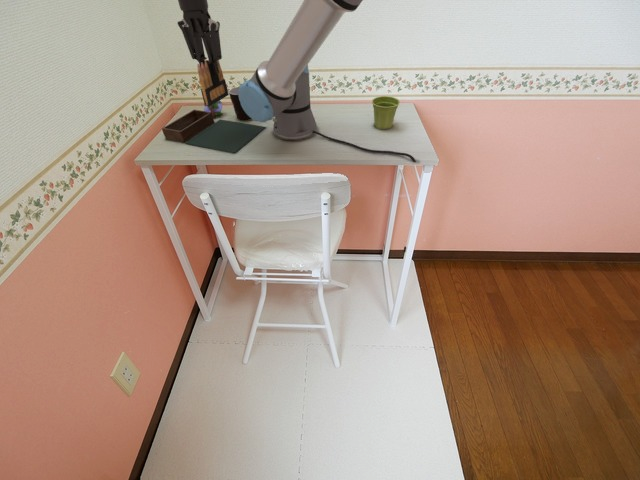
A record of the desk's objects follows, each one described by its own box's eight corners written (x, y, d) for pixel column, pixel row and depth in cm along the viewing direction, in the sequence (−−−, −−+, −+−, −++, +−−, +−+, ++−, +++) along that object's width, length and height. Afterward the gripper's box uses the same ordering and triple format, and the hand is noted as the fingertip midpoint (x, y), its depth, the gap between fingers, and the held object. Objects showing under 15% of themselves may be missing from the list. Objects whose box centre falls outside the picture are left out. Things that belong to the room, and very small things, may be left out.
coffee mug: (253, 122, 123) (248, 95, 116) (231, 121, 124) (225, 94, 118) (261, 110, 132) (257, 83, 125) (241, 109, 133) (236, 83, 126)
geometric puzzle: (219, 115, 124) (218, 93, 123) (201, 116, 124) (200, 94, 123) (225, 120, 131) (224, 99, 130) (208, 120, 131) (207, 100, 130)
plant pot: (399, 122, 119) (403, 98, 113) (392, 133, 113) (395, 108, 107) (374, 118, 122) (376, 94, 116) (366, 129, 116) (368, 104, 110)
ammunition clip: (209, 106, 104) (198, 65, 96) (204, 105, 104) (193, 64, 96) (228, 94, 111) (220, 55, 103) (224, 94, 112) (215, 54, 103)
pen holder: (214, 122, 124) (211, 112, 122) (184, 143, 113) (180, 131, 110) (197, 119, 127) (193, 109, 124) (165, 139, 116) (161, 128, 113)
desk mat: (265, 127, 120) (265, 126, 119) (234, 153, 106) (234, 152, 106) (220, 120, 126) (220, 119, 125) (185, 144, 112) (185, 142, 112)
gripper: (221, -10, 88) (239, 82, 105) (178, -11, 93) (201, 78, 109) (204, -6, 83) (226, 90, 100) (159, -7, 88) (186, 86, 104)
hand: (213, 84), depth 104 cm, fingers closed on ammunition clip, 2 cm apart
